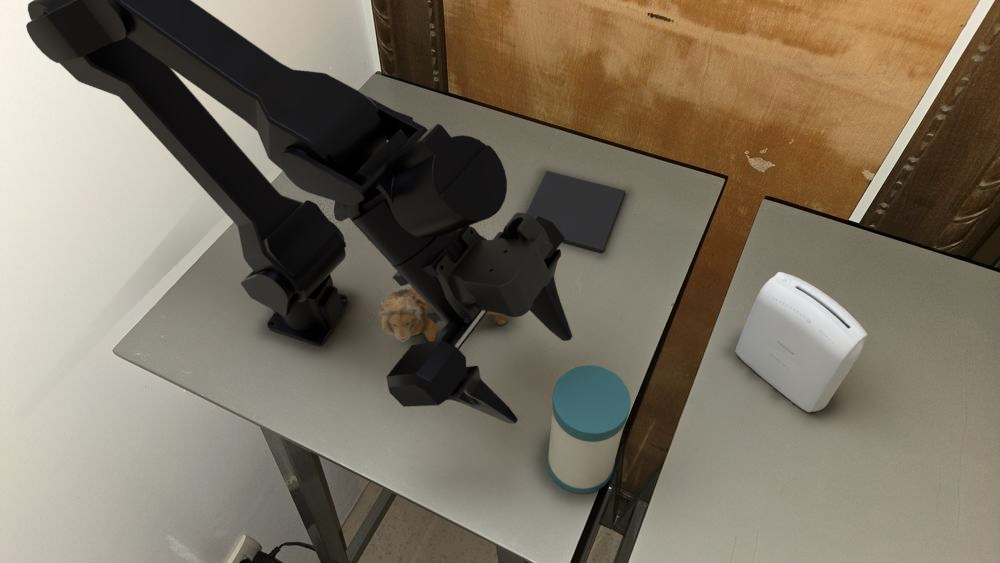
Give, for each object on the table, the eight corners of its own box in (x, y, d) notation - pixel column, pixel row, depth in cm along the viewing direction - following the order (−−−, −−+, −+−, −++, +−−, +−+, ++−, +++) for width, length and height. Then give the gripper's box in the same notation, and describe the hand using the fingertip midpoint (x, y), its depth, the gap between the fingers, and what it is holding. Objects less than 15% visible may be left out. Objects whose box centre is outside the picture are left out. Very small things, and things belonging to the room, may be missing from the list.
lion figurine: (401, 380, 75) (390, 329, 68) (377, 342, 78) (365, 290, 71) (524, 315, 80) (526, 261, 73) (497, 281, 83) (496, 227, 76)
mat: (519, 230, 88) (519, 227, 87) (546, 173, 93) (546, 170, 93) (602, 253, 85) (602, 250, 85) (625, 194, 91) (625, 190, 91)
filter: (537, 480, 69) (542, 418, 59) (558, 422, 72) (566, 356, 63) (603, 503, 67) (619, 444, 58) (621, 443, 71) (639, 378, 62)
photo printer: (726, 351, 77) (757, 277, 67) (753, 329, 79) (787, 253, 69) (809, 422, 72) (856, 352, 62) (836, 396, 74) (886, 325, 64)
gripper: (400, 314, 46) (550, 475, 51) (547, 138, 56) (661, 288, 61) (325, 331, 55) (460, 468, 60) (464, 177, 65) (570, 305, 70)
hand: (542, 379), depth 63 cm, fingers open, 9 cm apart
